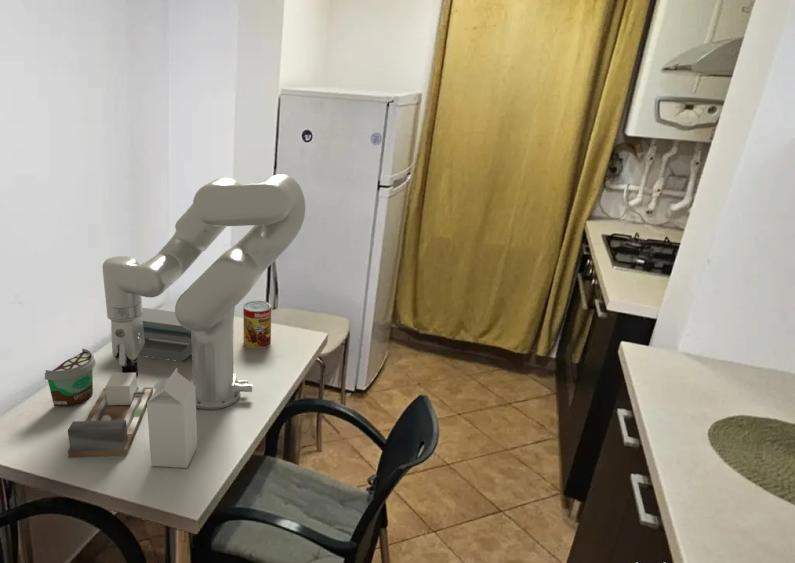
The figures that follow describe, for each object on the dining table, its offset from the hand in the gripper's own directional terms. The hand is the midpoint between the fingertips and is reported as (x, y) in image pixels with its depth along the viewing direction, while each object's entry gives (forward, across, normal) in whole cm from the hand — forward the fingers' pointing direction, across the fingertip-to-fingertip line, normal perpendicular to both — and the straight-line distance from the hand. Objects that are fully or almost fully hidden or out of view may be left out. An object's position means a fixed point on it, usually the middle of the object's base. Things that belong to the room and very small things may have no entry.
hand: (130, 377), depth 137 cm
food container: (+3, -4, +10) cm, 11 cm away
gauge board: (+3, -14, 0) cm, 14 cm away
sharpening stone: (+3, +19, -5) cm, 20 cm away
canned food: (+3, +25, -28) cm, 38 cm away
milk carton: (+3, -27, -15) cm, 31 cm away
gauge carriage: (+1, -7, -1) cm, 7 cm away
